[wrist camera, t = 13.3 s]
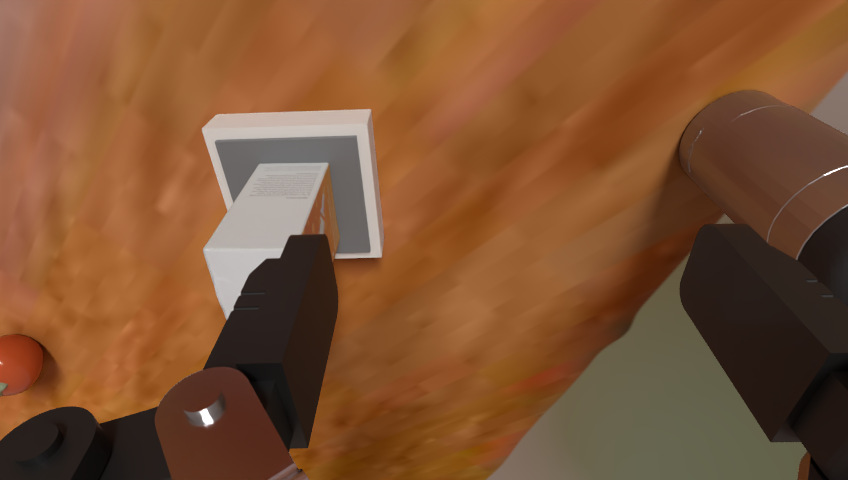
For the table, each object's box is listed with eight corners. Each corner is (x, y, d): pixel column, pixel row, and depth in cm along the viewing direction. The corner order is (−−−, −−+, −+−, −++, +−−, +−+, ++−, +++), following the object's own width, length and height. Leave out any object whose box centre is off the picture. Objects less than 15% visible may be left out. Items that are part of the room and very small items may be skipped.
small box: (341, 237, 45) (315, 337, 35) (275, 237, 46) (230, 338, 35) (330, 160, 41) (297, 248, 30) (257, 161, 41) (198, 249, 30)
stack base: (371, 109, 42) (366, 125, 39) (384, 237, 50) (381, 260, 47) (216, 114, 43) (199, 131, 39) (254, 241, 51) (242, 264, 47)
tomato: (-5, 354, 61) (-57, 408, 55) (-11, 316, 57) (-67, 369, 51) (57, 369, 63) (15, 423, 56) (56, 333, 59) (10, 386, 52)
